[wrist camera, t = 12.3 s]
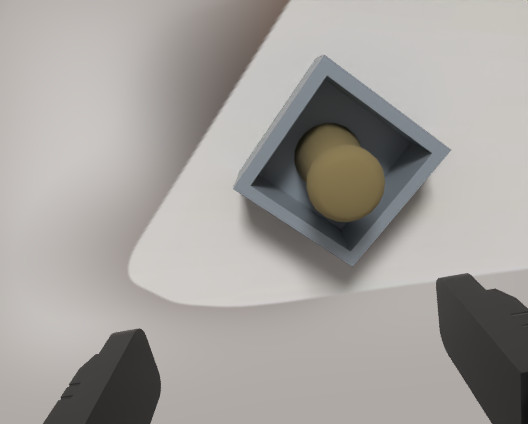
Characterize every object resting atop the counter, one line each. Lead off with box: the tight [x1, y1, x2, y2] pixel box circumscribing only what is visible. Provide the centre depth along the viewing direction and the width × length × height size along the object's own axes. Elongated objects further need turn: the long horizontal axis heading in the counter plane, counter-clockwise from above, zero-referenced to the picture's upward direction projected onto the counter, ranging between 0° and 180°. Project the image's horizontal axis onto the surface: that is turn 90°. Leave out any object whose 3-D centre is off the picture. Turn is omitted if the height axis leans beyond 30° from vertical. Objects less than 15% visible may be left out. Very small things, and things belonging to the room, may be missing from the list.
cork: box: [294, 123, 385, 222], centre depth 31 cm, size 6×6×11 cm
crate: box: [233, 55, 451, 267], centre depth 34 cm, size 12×12×6 cm
